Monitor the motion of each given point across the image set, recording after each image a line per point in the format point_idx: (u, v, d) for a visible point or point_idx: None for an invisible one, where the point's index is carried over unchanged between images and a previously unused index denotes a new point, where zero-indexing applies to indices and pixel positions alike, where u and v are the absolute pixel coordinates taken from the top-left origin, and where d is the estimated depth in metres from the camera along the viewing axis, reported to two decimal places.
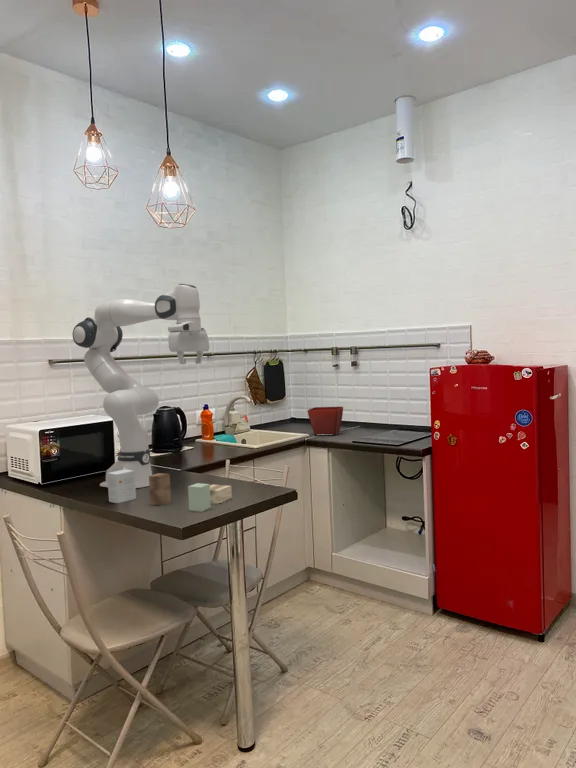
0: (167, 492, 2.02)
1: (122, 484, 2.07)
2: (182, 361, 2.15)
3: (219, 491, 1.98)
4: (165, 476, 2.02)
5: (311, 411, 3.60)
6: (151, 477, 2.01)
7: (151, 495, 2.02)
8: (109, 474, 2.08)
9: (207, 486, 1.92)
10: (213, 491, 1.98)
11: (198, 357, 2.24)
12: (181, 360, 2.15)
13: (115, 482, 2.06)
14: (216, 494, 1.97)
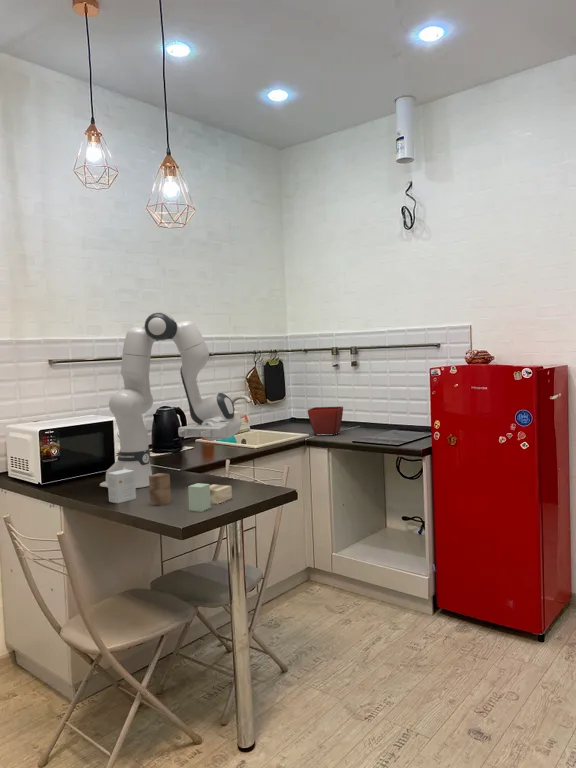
0: (167, 492, 2.02)
1: (122, 484, 2.07)
2: (203, 435, 2.16)
3: (218, 491, 1.98)
4: (165, 476, 2.02)
5: (311, 411, 3.60)
6: (151, 477, 2.01)
7: (151, 495, 2.02)
8: (109, 474, 2.08)
9: (207, 486, 1.92)
10: (212, 491, 1.98)
11: None
12: (204, 434, 2.16)
13: (115, 482, 2.06)
14: (215, 494, 1.97)
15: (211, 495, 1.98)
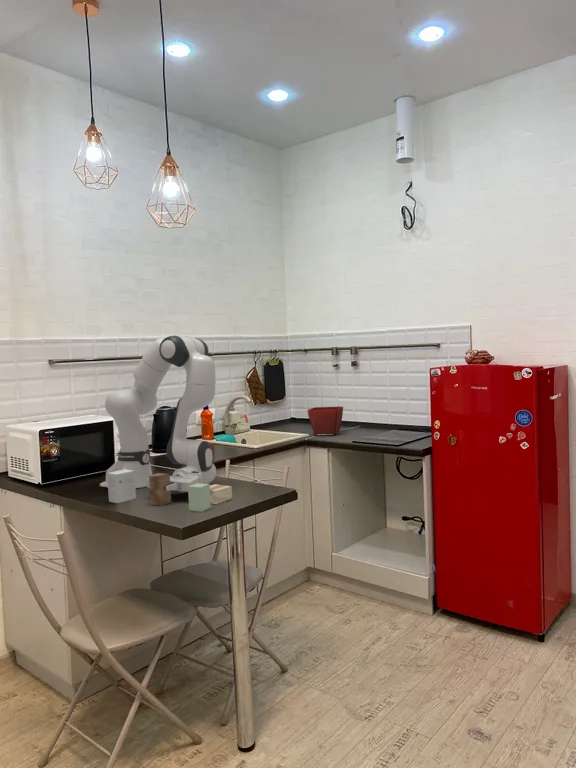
0: (167, 492, 2.02)
1: (122, 484, 2.07)
2: (169, 489, 2.01)
3: (216, 492, 1.97)
4: (165, 476, 2.02)
5: (311, 411, 3.60)
6: (151, 477, 2.01)
7: (151, 495, 2.02)
8: (109, 474, 2.08)
9: (207, 486, 1.92)
10: (211, 491, 1.98)
11: None
12: (169, 488, 2.01)
13: (115, 482, 2.06)
14: (213, 494, 1.97)
15: (210, 495, 1.99)
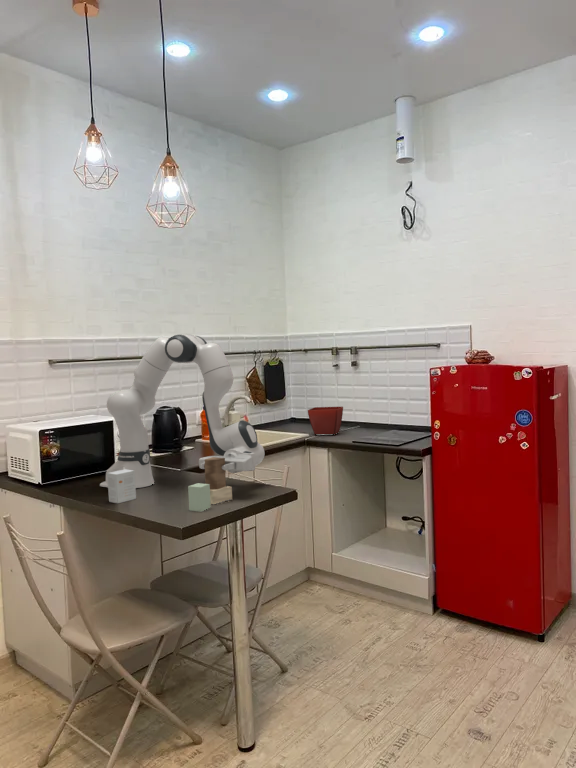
0: (222, 476, 2.02)
1: (122, 484, 2.07)
2: (226, 468, 2.00)
3: (214, 492, 1.97)
4: (221, 460, 2.01)
5: (311, 411, 3.60)
6: (207, 461, 2.01)
7: (206, 479, 2.01)
8: (109, 474, 2.08)
9: (207, 486, 1.92)
10: None
11: None
12: (227, 467, 2.00)
13: (115, 482, 2.06)
14: (212, 494, 1.97)
15: None
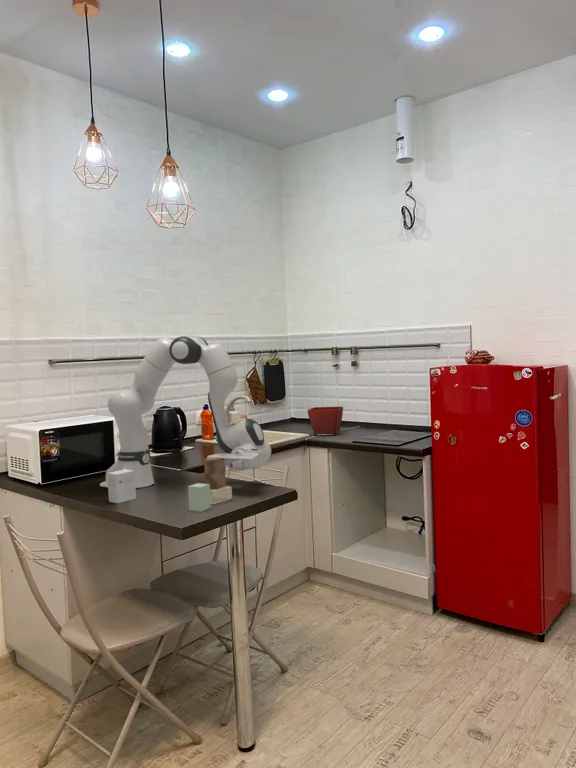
0: (222, 476, 2.02)
1: (122, 484, 2.07)
2: (235, 465, 2.04)
3: (214, 492, 1.97)
4: (220, 460, 2.01)
5: (311, 411, 3.60)
6: (206, 461, 2.01)
7: (206, 479, 2.01)
8: (109, 474, 2.08)
9: (207, 486, 1.92)
10: None
11: None
12: (235, 465, 2.04)
13: (115, 482, 2.06)
14: (211, 494, 1.97)
15: None
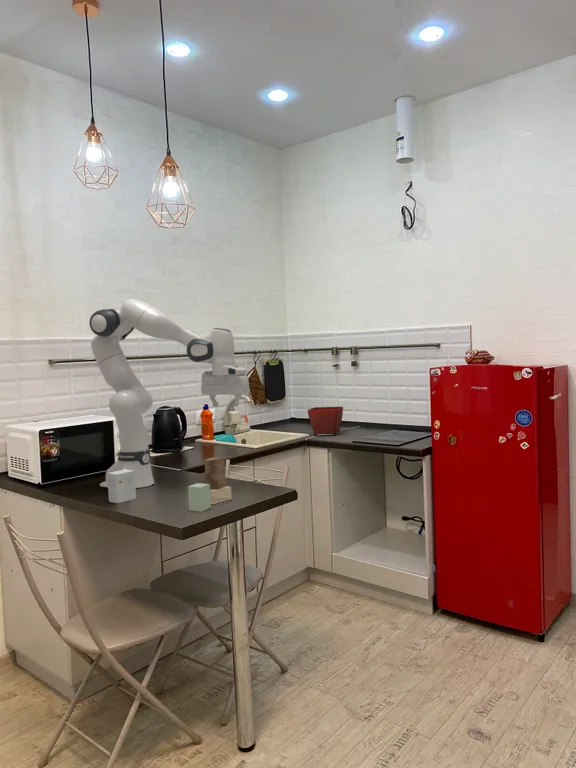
0: (223, 476, 2.02)
1: (122, 484, 2.07)
2: (237, 403, 2.21)
3: (213, 492, 1.97)
4: (221, 460, 2.01)
5: (311, 411, 3.60)
6: (207, 461, 2.00)
7: (207, 479, 2.00)
8: (109, 474, 2.08)
9: (207, 486, 1.92)
10: None
11: (214, 400, 2.25)
12: (237, 403, 2.20)
13: (115, 482, 2.06)
14: (211, 494, 1.97)
15: None
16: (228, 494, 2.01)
